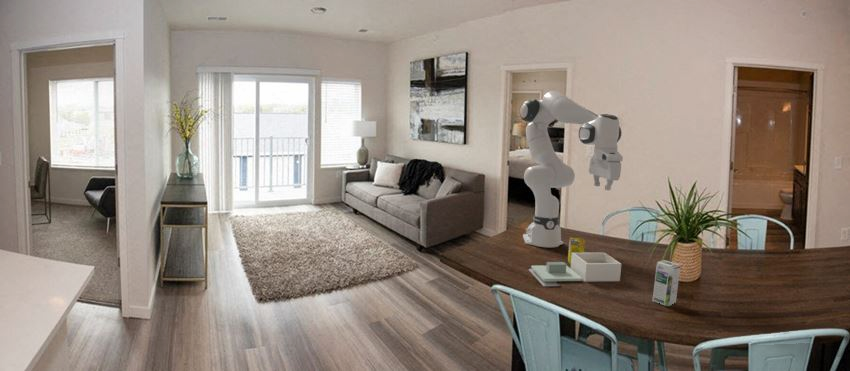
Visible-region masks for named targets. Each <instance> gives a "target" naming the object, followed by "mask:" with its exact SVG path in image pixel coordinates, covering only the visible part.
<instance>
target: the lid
mask: <svg viewBox="0 0 850 371" xmlns="http://www.w3.org/2000/svg"><path fill="white" fill-rule="evenodd" d="M545 264H546V265H543V264H542V265H531V266H530V269H533V270H534V271H535V272H536V274H537V275H538V276H539V277H540V278H541V279H542V280H543V281H546V282H582V281H583V279H582V278H581V277H580V276H579V275H578V274H576V273H575V272H574V271H573V270H572V269H570V268H571V267H569V266H568V265H567V263H566V262H564V261H546V263H545Z"/></svg>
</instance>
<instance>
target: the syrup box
mask: <svg viewBox="0 0 850 371" xmlns="http://www.w3.org/2000/svg"><path fill="white" fill-rule="evenodd" d="M681 266H682V265H681V264H680V263H677V262H672V261H669V260H665V259H663V260H660V261H657V262H656V266H655V267H656V268H655V277H654V286H653V293H652V299H651V300H652V302H654V303H657V304H659V303H660V304H659V305H662V306H665V307H667V306H668V307H670V306H673V305H674V303H675V304H676V303H677V295H678V288H679V281H680V274H681V273H680V272H681ZM672 304H673V305H672Z"/></svg>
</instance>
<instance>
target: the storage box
mask: <svg viewBox="0 0 850 371" xmlns="http://www.w3.org/2000/svg"><path fill="white" fill-rule="evenodd" d="M596 261H601V262H602V263H589V262H596ZM569 268H570V269H572V270H573V271H574V272H575V273H576V274H578V275H579V276H580V277H581V278H582V281H584V282H586V283H587V282H620V281H621V271H622V263H621V262H619V261H618V260H616V259H615V258H614V257H612V256H610V255H609V254H608V253H606V252H605V251H604V252H584V253H572V256H571V264H570V267H569Z"/></svg>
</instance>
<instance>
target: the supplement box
mask: <svg viewBox="0 0 850 371" xmlns="http://www.w3.org/2000/svg"><path fill="white" fill-rule="evenodd" d="M585 247H586V241H585V239H584V238H583V237H582V238H581V237H569V241H568V252H567V261H568V264H570V265H571V256H572V253H585V249H586V248H585Z"/></svg>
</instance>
